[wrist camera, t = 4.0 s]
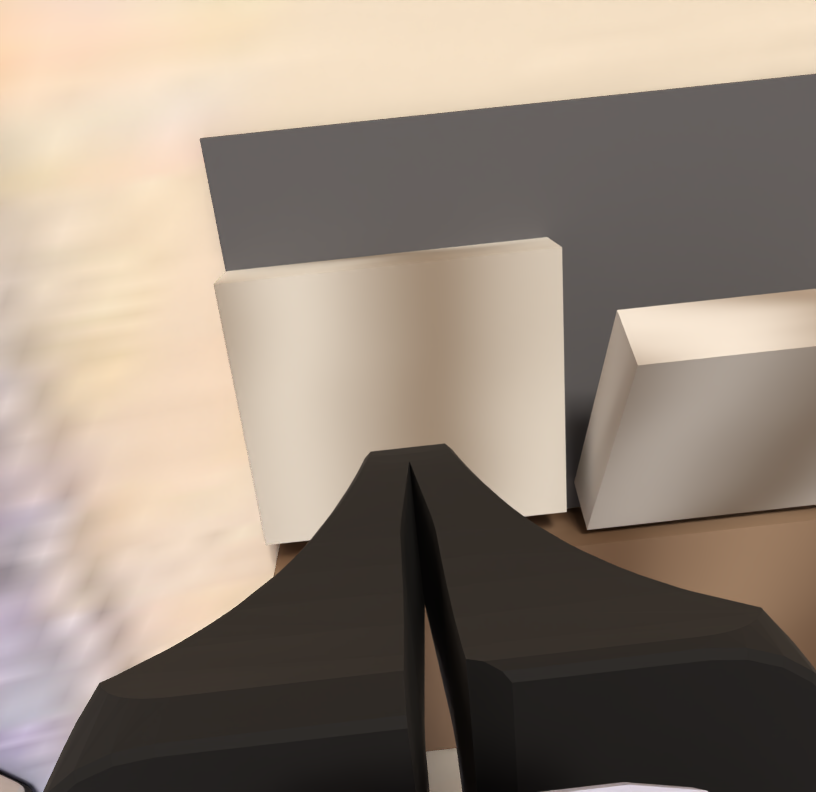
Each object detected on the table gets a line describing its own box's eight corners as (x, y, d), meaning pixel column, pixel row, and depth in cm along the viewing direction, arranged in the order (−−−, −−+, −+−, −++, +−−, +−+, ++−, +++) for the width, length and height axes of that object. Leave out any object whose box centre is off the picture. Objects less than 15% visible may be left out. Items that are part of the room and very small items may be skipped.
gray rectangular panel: (280, 534, 21) (278, 540, 21) (202, 138, 17) (199, 138, 17) (839, 472, 21) (845, 477, 21) (902, 64, 17) (911, 64, 17)
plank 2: (574, 482, 20) (587, 529, 19) (616, 309, 15) (637, 365, 14) (851, 451, 20) (877, 497, 20) (998, 268, 15) (1044, 321, 14)
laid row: (315, 715, 24) (310, 764, 22) (281, 540, 21) (273, 579, 19) (810, 659, 24) (845, 703, 22) (838, 478, 21) (880, 512, 20)
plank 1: (272, 515, 20) (265, 545, 19) (225, 270, 18) (213, 284, 16) (553, 484, 20) (566, 511, 19) (546, 236, 18) (562, 247, 16)
